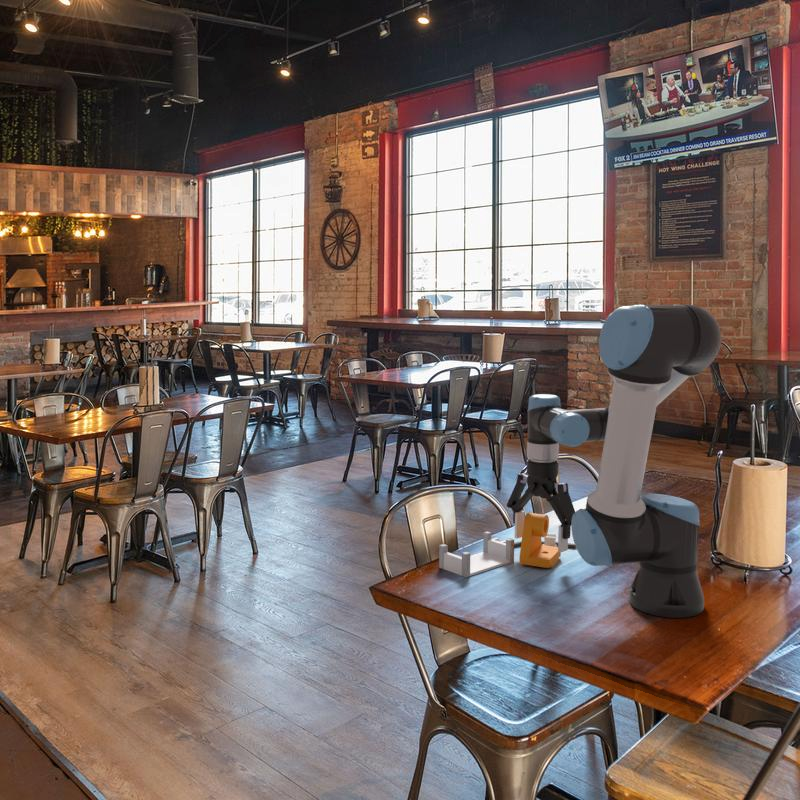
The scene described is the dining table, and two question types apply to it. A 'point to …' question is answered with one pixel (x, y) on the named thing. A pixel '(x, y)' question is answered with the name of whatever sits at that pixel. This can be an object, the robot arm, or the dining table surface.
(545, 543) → the cable route
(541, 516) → the bracket
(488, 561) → the holder
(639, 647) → the dining table surface
